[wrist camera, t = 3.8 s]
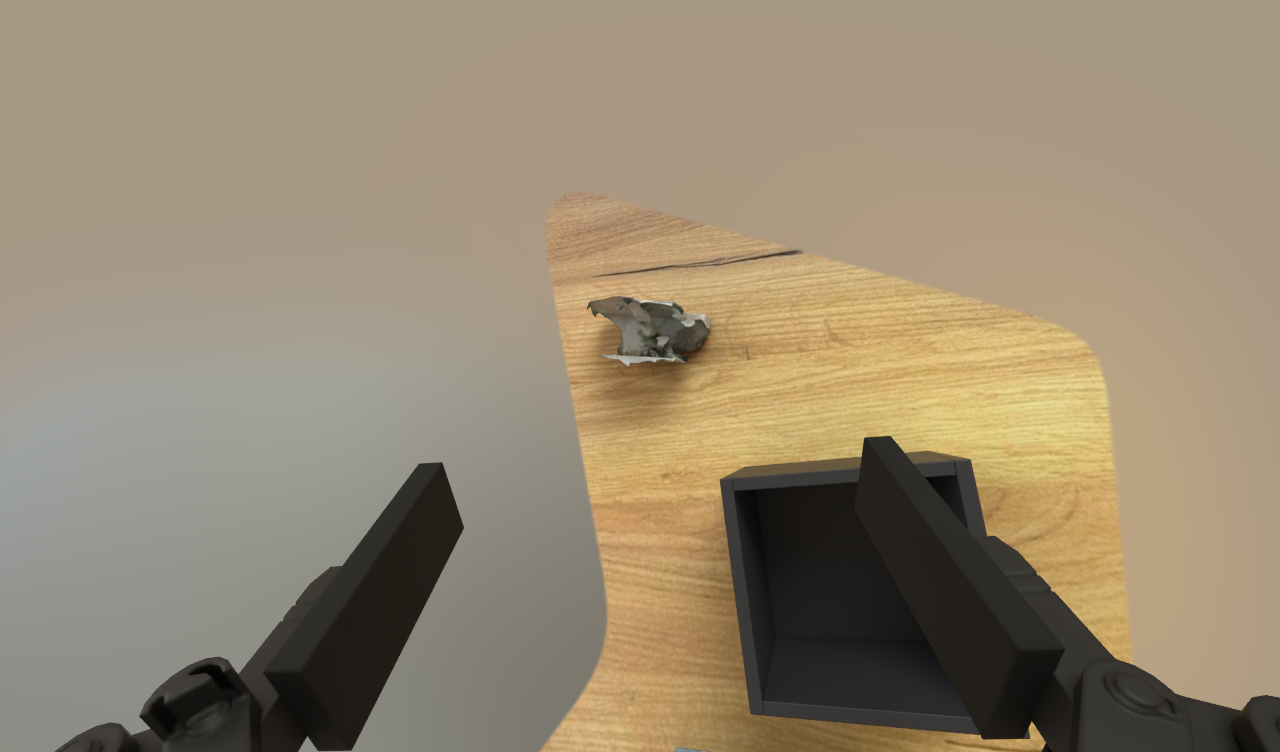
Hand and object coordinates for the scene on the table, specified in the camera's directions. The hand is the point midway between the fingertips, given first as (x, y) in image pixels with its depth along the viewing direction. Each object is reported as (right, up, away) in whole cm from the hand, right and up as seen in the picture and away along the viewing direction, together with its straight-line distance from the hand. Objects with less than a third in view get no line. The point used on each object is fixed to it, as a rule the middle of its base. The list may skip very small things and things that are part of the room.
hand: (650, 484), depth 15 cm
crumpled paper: (+1, +6, +18) cm, 18 cm away
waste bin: (+11, -6, +12) cm, 18 cm away
